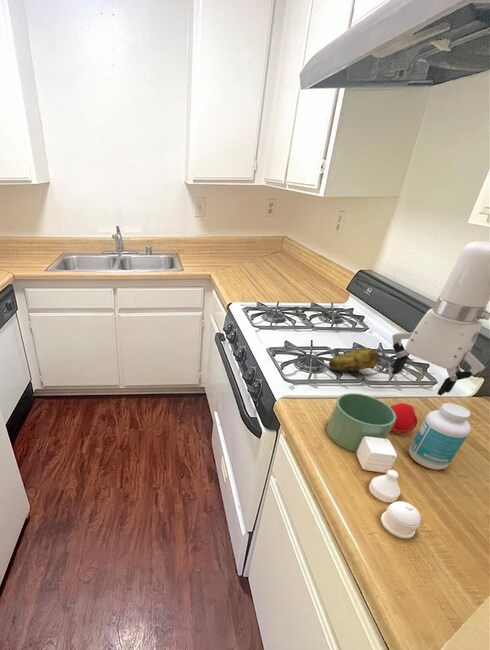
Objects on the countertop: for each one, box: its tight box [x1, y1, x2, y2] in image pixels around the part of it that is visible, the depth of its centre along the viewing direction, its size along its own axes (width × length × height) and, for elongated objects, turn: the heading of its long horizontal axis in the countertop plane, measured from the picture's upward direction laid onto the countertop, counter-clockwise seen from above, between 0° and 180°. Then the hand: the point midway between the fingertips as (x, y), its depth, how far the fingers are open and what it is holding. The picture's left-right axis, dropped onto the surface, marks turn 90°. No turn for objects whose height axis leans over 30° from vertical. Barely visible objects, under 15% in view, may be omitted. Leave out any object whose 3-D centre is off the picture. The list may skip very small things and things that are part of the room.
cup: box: [326, 392, 396, 453], centre depth 79 cm, size 12×12×8 cm
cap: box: [390, 402, 419, 434], centre depth 83 cm, size 8×6×6 cm
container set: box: [356, 436, 422, 539], centre depth 66 cm, size 20×5×6 cm, turn 170°
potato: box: [328, 347, 380, 372], centre depth 104 cm, size 8×13×8 cm, turn 65°
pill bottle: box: [408, 402, 472, 471], centre depth 72 cm, size 8×7×14 cm
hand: (418, 382), depth 77 cm, fingers open, 9 cm apart
